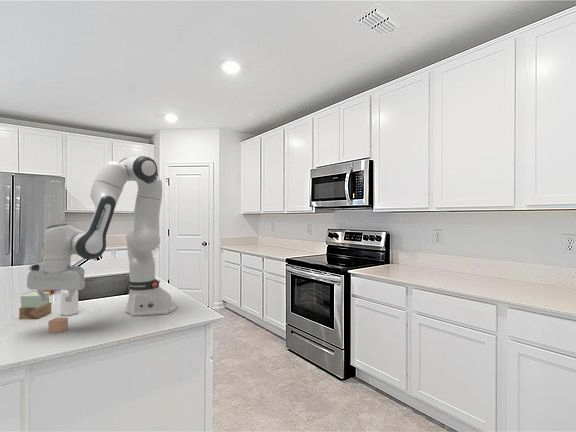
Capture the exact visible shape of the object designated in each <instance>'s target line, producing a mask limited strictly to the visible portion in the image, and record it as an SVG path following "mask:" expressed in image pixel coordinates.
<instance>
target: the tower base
mask: <svg viewBox="0 0 576 432" xmlns="http://www.w3.org/2000/svg"><path fill="white" fill-rule="evenodd" d="M18 309H19V310H18V317H19V319H18V320H39V319H42V318H44V317H47V316H48V315H51V314H52V302H49V303H48V304H46V305H43V306H41V307H38V308H21V307H19V308H18Z"/></svg>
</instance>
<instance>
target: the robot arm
mask: <svg viewBox="0 0 576 432" xmlns="http://www.w3.org/2000/svg"><path fill="white" fill-rule="evenodd" d="M158 172H159V171H158V165H157V163H156V161H155V160H154V159H153V158H152V157H149V156H144V155H143V156H142V155H141V156H137V155H135V156H131V157H125V158H123V159H121V160H120V161H115V160H109V161H107V162H105V163H104V165H103V166H102V167H101V169H100V170H99V172H98V174H97V176H96V177H95V179H94V181H93V184H92V186H91V189H90V199H91V200H92V203H94V207H95V208H94V209H95V210H94V213H93V216H92V219H91V222H90V223H89V224H90V225H89V226H88V229H87V231H84V230H81V229H77V228H75V227H73V226H71V225H70V224H69V223H58V224H51V225H49V226H48V227H46V229H45V231H44V236H43V242H44V245H43V247H44V251H45V254H44V257H43V262H42V261H40V262H37V263H33V264H31V265H29V266H28V271H29V272H28V274H27V277H26V287H27V289H28V290H37V291H36V292H37V293H38V294H39V296H40V301H46V300H47V296H45V294H44V292H43V291H45V290H54V291H62V290H68V293H70V294H69V295H68V296H67V297H65V299H66V300H65V301H66V302H70V301H72V296H73V294H74V293H75V290H78V291H81V290H83V289H84V288H85V287H86V280H85V269H84V268H83V267H81V266H80V265H77V266H75V265H71V264H72V263H71V261H72V260H71V257H72V256H73V255H77V256H79V257H80V258H82V259H84V260H96V259H97V258H100V257H101V256H102V255H103V254H104V252H105V250H106V247H107V232H108V230H109V228H110V227H109V226H110V224H111V221H112V218H113V215H114V214H115V213H114V212H115V209H116V206H117V203H118V201H119V199H120V196H121V194H122V192H123V189H124V188H125V184H126V183H127V182H130V181H131V182H136V183H137V184H136V185H137V191H136V196H135V204H134V210H133V216H134V223H133V224H134V227H132V228H131V229H129V230H128V231H126V235H125V240H126V241H125V242H126V251H127V256H128V263H129V265H128V266H129V272H128V273H129V279H128V284H127V285H128V286H127V289H128V290H127V291H128V298H127V299H128V300H127V305H126V308H125V312H126V313H127V314H130V315H131V316H132V317H134V316H135V317H137V316H139V317H140V316H154V315H167V314H170V313H172V312H174V311H175V310H176V309H177V308H178V305H177V303H175V302H173V300H172V296H171V294H170V293H169V292H168V291H167V290H165V289H163V288H162V287H160V283H161V282H160V281H161V280H160V279H159V280H157V279H156V263H155V262H156V261H155V259H154V254H153V251H155V250H156V249H157V248H158V247H160V246H159V245H160V244H161V237H160V221H159V220H160V212H161V205H162V198H163V181H162V179H160V177H159V173H158Z"/></svg>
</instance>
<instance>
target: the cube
mask: <svg viewBox="0 0 576 432" xmlns="http://www.w3.org/2000/svg"><path fill="white" fill-rule="evenodd" d="M68 328H69V316H63V317H58V316H57V317H54V318H52V319H50V320H48V327H47V329H48V330H47V331H48V334H51V333H52V334H53V333H54V334H61V333H63V332H64V331H66V330H67V329H68Z"/></svg>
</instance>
